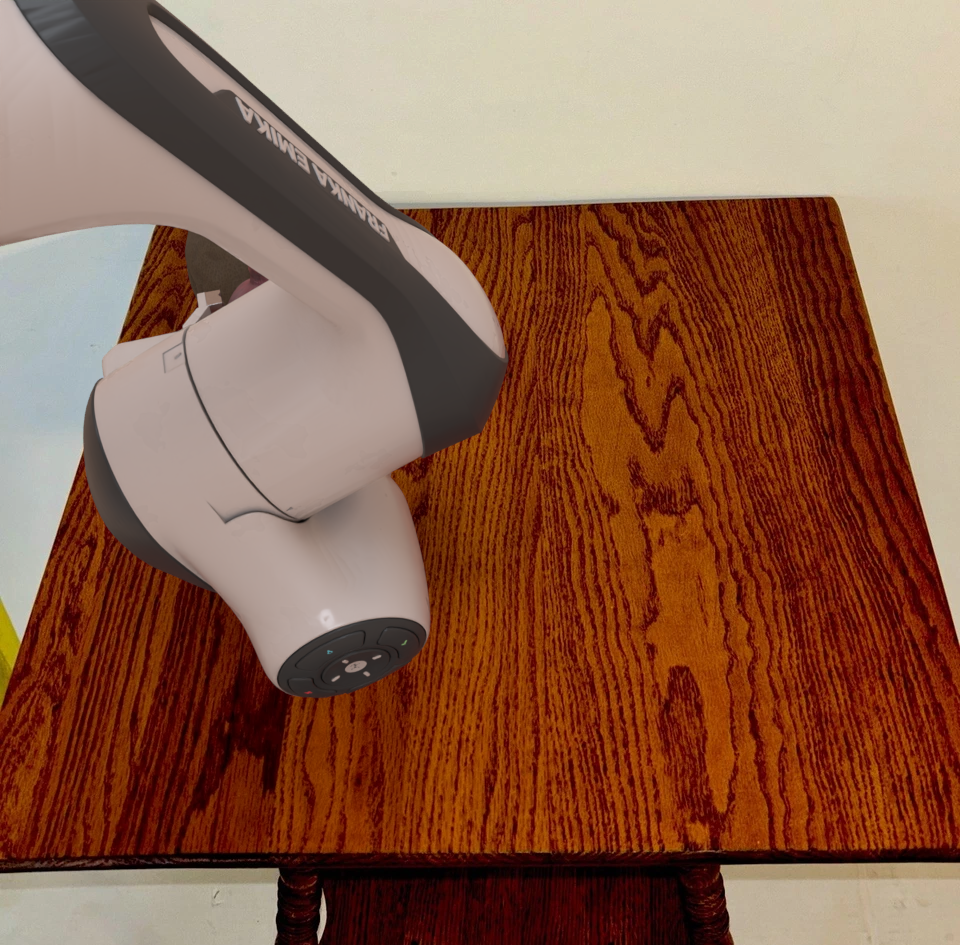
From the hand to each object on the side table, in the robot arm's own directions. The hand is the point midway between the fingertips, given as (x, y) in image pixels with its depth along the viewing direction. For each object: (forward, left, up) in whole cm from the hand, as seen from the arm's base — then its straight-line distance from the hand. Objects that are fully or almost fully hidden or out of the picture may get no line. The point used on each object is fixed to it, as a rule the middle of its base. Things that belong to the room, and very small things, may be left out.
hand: (266, 288), depth 66 cm
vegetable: (0, -1, -6) cm, 6 cm away
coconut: (+1, +17, -17) cm, 24 cm away
